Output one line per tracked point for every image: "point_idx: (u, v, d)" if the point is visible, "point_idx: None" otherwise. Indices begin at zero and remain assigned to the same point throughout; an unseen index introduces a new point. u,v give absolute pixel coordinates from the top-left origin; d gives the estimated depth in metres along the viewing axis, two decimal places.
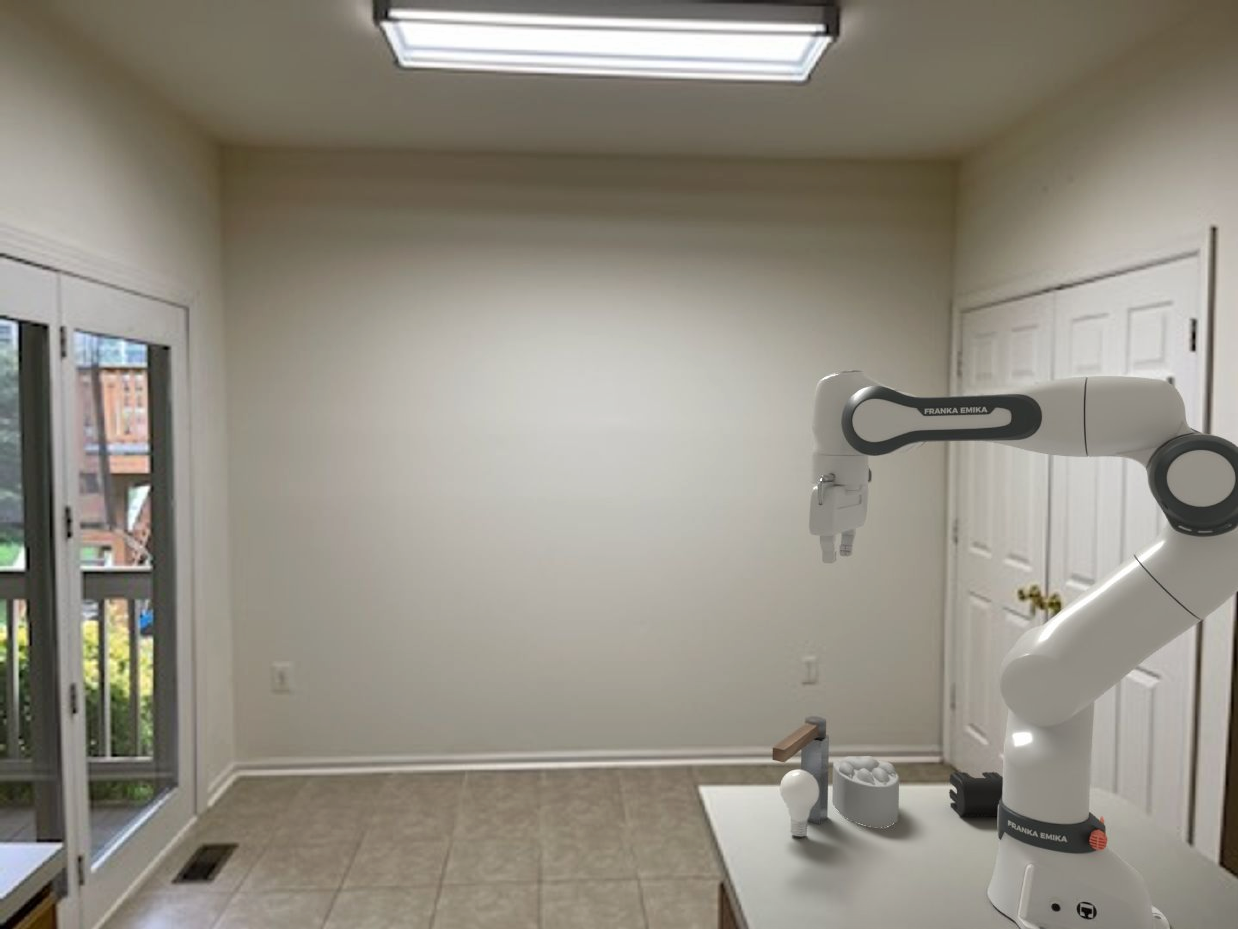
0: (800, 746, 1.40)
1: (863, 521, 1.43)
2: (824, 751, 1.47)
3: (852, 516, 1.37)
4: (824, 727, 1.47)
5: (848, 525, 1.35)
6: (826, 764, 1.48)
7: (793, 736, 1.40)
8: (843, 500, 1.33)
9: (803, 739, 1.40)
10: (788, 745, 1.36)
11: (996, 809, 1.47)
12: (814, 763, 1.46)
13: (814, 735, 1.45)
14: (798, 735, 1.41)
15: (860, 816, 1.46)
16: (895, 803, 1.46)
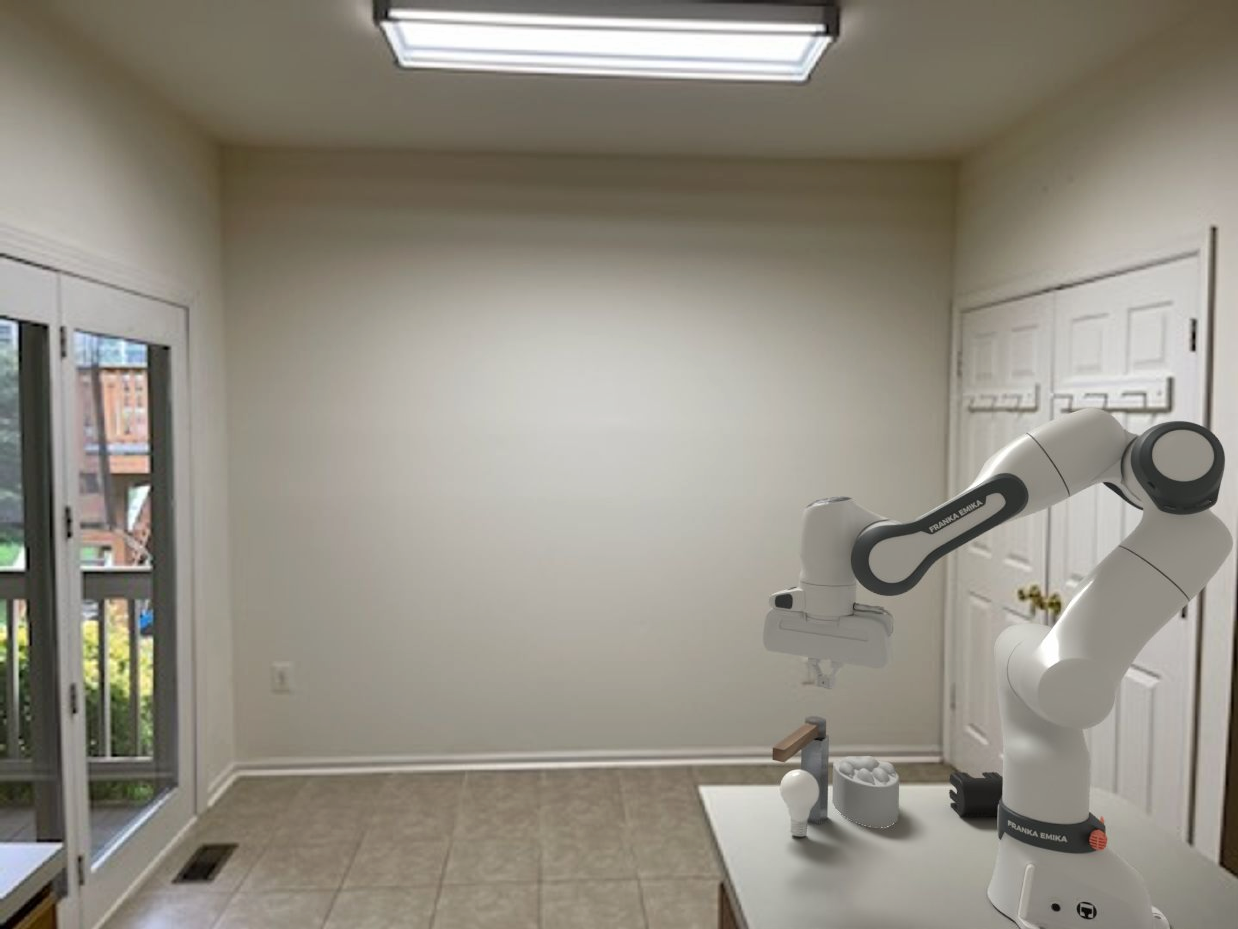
0: (800, 746, 1.40)
1: None
2: (824, 751, 1.47)
3: None
4: (824, 727, 1.47)
5: None
6: (826, 764, 1.48)
7: (793, 736, 1.40)
8: None
9: (803, 739, 1.40)
10: (788, 745, 1.36)
11: (996, 809, 1.47)
12: (814, 763, 1.46)
13: (814, 735, 1.45)
14: (798, 735, 1.41)
15: (861, 816, 1.46)
16: (895, 803, 1.46)
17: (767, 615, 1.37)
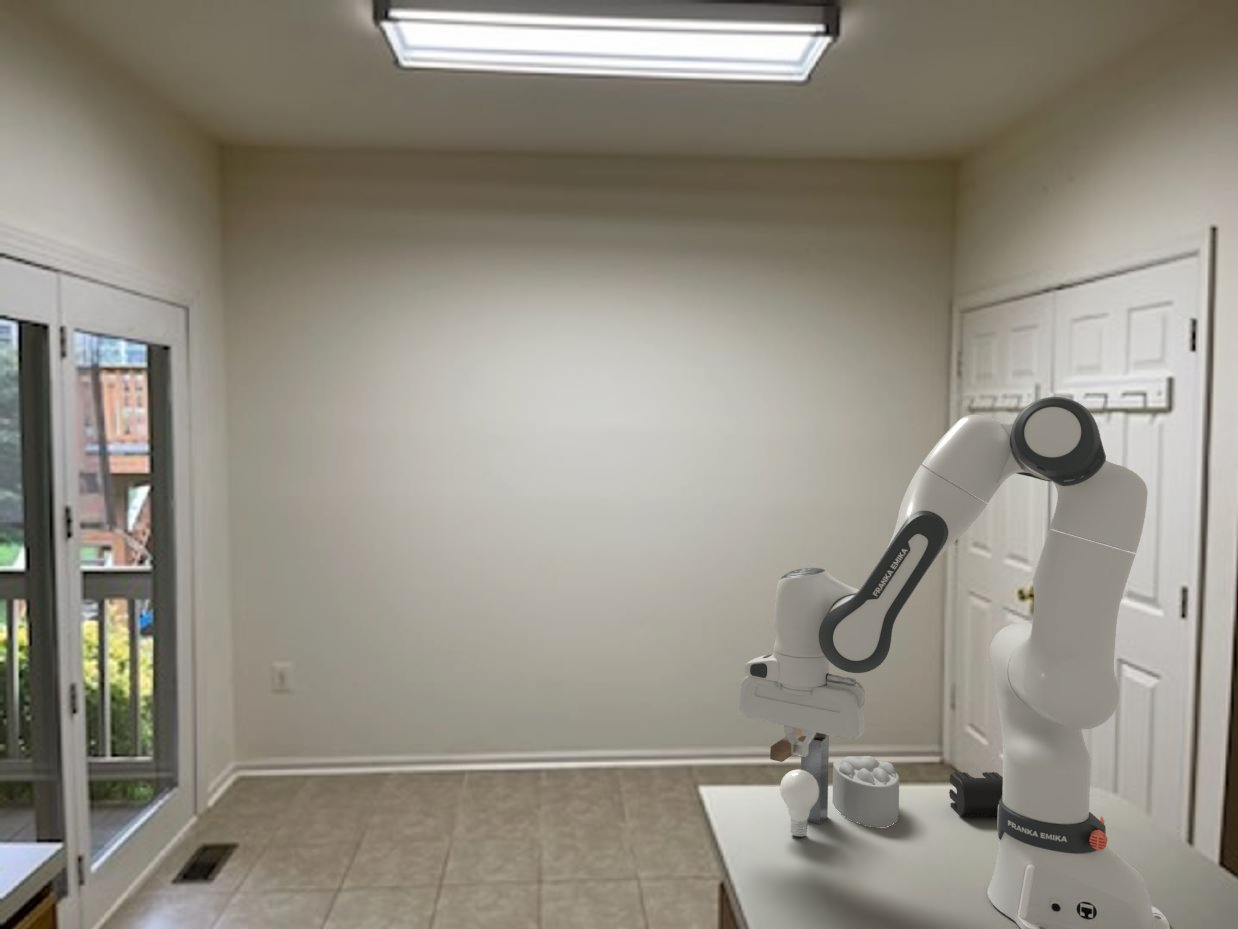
0: None
1: None
2: (824, 751, 1.47)
3: None
4: None
5: None
6: (826, 764, 1.48)
7: None
8: None
9: (801, 738, 1.40)
10: (786, 745, 1.36)
11: (996, 809, 1.47)
12: (814, 763, 1.46)
13: None
14: (797, 734, 1.41)
15: (861, 816, 1.46)
16: (895, 803, 1.46)
17: (743, 682, 1.40)
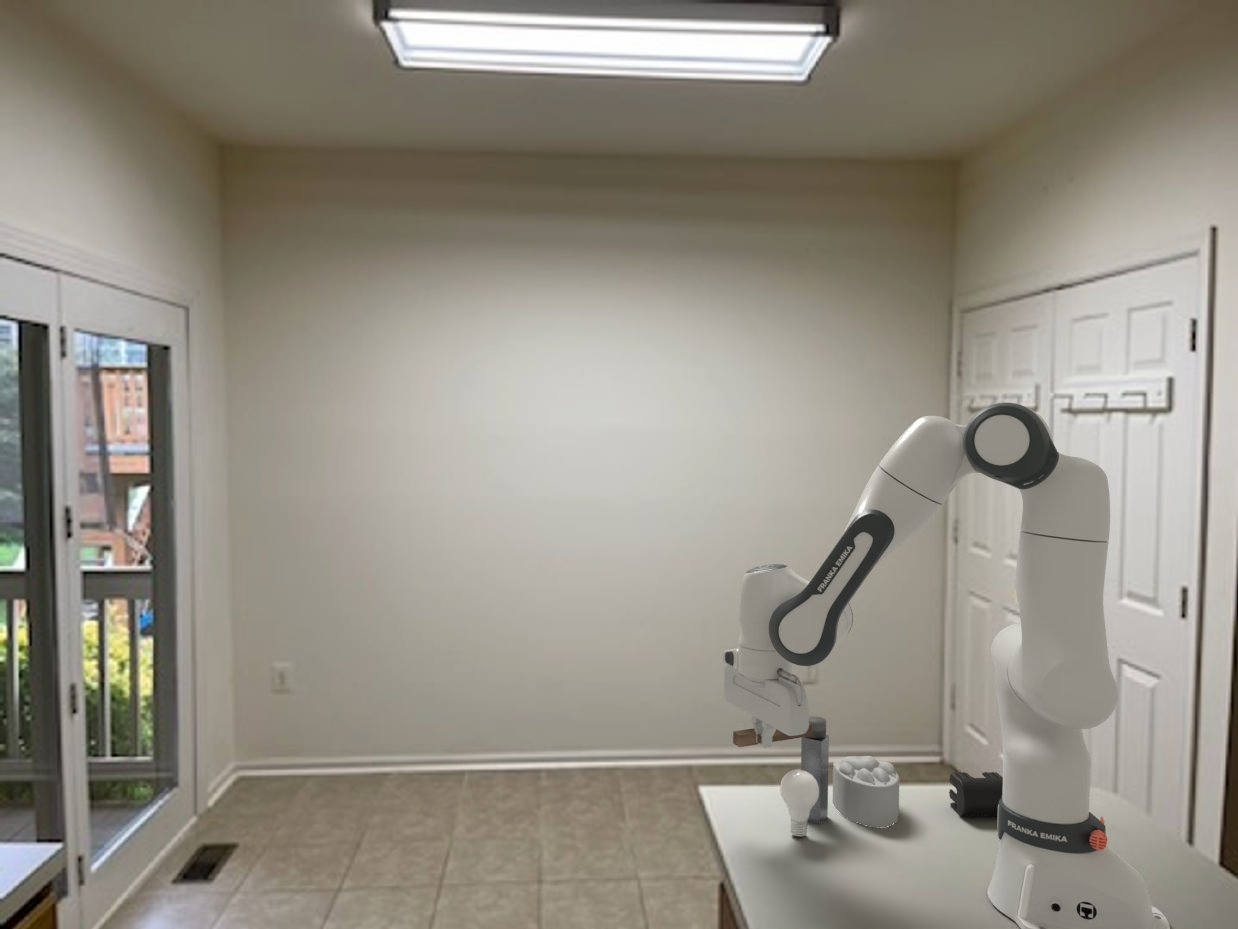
0: (773, 738, 1.43)
1: None
2: (824, 751, 1.47)
3: None
4: (820, 728, 1.46)
5: None
6: (826, 764, 1.48)
7: None
8: None
9: (778, 732, 1.44)
10: (750, 732, 1.42)
11: (996, 809, 1.47)
12: (814, 763, 1.46)
13: None
14: None
15: (861, 816, 1.46)
16: (895, 803, 1.46)
17: (724, 669, 1.48)
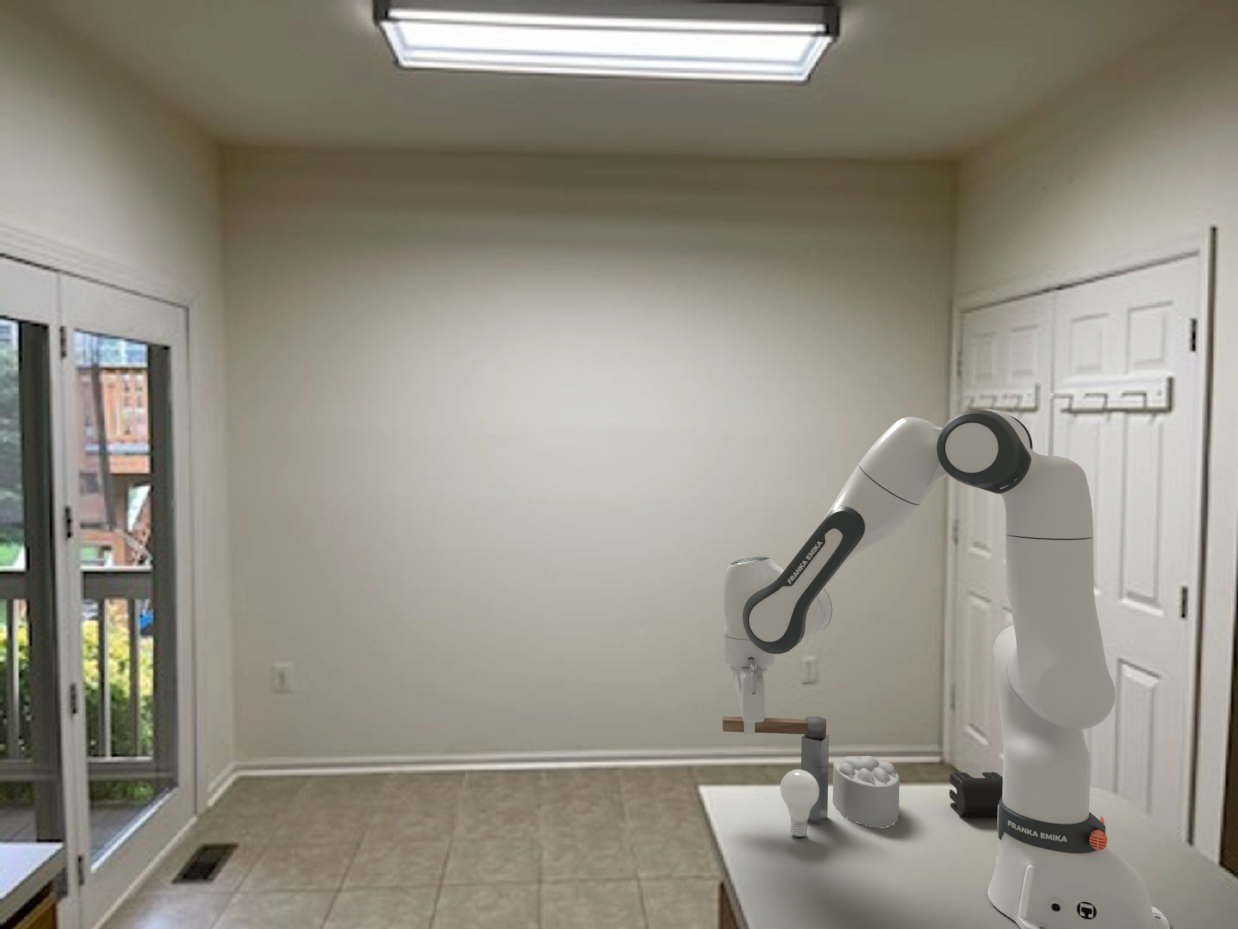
0: (761, 729, 1.48)
1: None
2: (824, 751, 1.47)
3: None
4: (814, 728, 1.46)
5: None
6: (826, 764, 1.48)
7: None
8: None
9: (768, 724, 1.47)
10: (736, 720, 1.48)
11: (996, 809, 1.47)
12: (814, 763, 1.46)
13: (798, 730, 1.47)
14: (767, 720, 1.48)
15: (861, 815, 1.46)
16: (895, 803, 1.46)
17: None
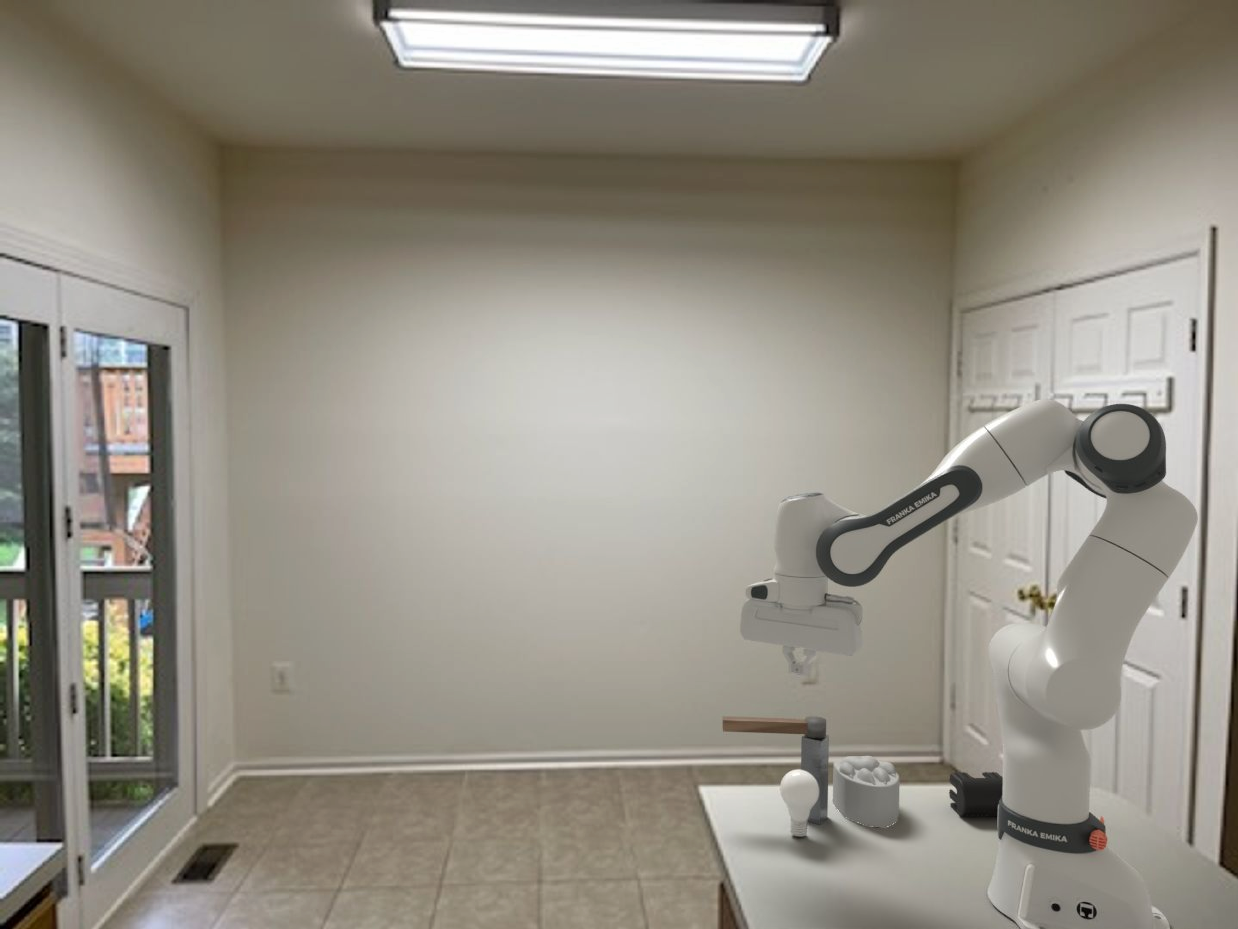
0: (761, 729, 1.48)
1: None
2: (824, 751, 1.47)
3: None
4: (814, 728, 1.46)
5: None
6: (826, 764, 1.48)
7: (761, 719, 1.49)
8: None
9: (768, 724, 1.47)
10: (736, 720, 1.48)
11: (996, 809, 1.47)
12: (814, 763, 1.46)
13: (798, 730, 1.47)
14: (767, 720, 1.48)
15: (861, 815, 1.46)
16: (896, 803, 1.47)
17: (744, 605, 1.44)
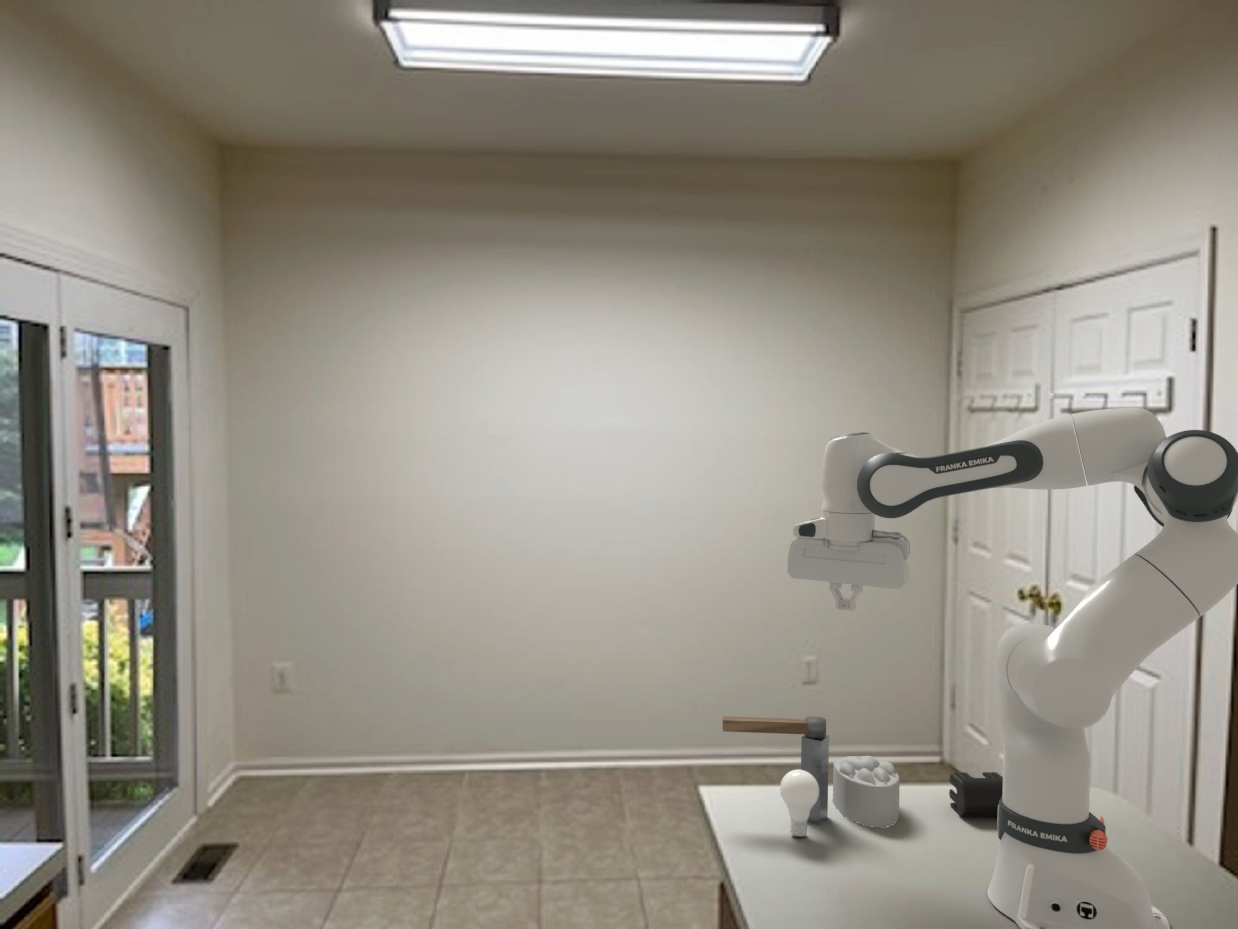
0: (761, 729, 1.48)
1: None
2: (824, 751, 1.47)
3: None
4: (814, 728, 1.46)
5: None
6: (826, 764, 1.48)
7: (761, 719, 1.49)
8: None
9: (768, 724, 1.47)
10: (736, 720, 1.48)
11: (996, 809, 1.47)
12: (814, 763, 1.46)
13: (798, 730, 1.47)
14: (767, 720, 1.48)
15: (861, 815, 1.46)
16: (896, 803, 1.47)
17: (791, 544, 1.47)
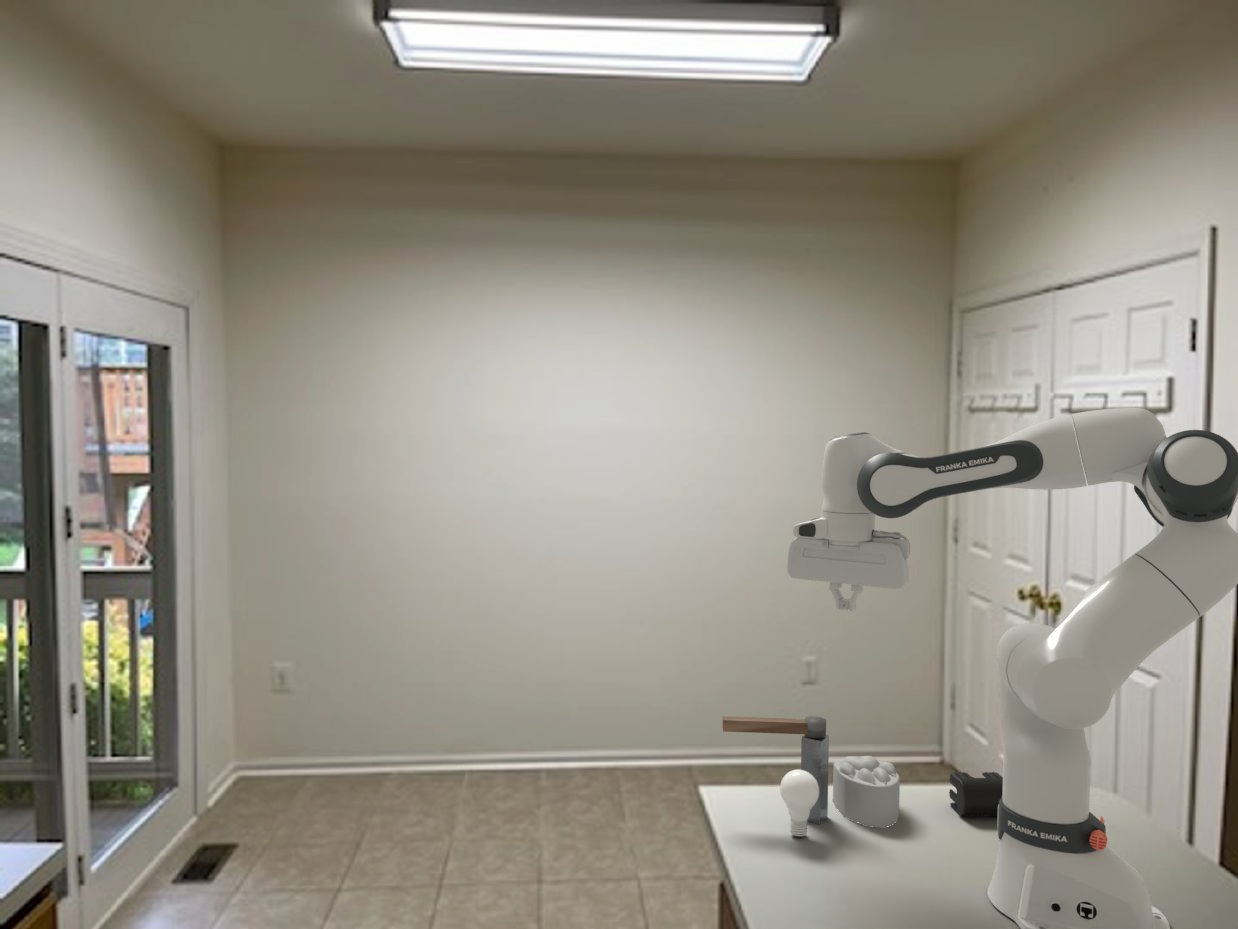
0: (761, 729, 1.48)
1: None
2: (824, 751, 1.47)
3: None
4: (814, 728, 1.46)
5: None
6: (826, 764, 1.48)
7: (761, 719, 1.49)
8: None
9: (768, 724, 1.47)
10: (736, 720, 1.48)
11: (996, 809, 1.47)
12: (814, 763, 1.46)
13: (798, 730, 1.47)
14: (767, 720, 1.48)
15: (861, 815, 1.46)
16: (896, 803, 1.47)
17: (791, 544, 1.47)
